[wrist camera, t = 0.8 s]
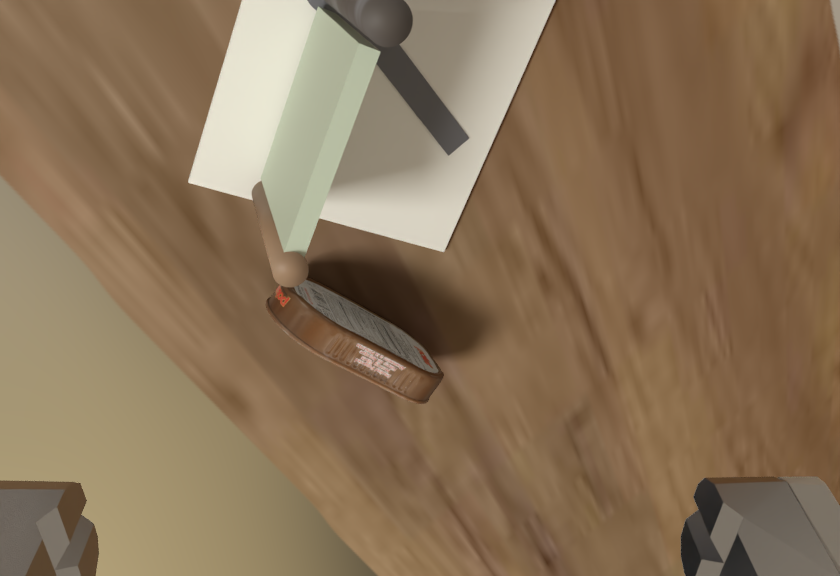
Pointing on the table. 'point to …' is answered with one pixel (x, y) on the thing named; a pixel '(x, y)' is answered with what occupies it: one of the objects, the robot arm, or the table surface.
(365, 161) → the card
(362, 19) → the fence
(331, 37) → the fence panel
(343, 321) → the tin
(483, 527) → the table surface
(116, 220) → the table surface
